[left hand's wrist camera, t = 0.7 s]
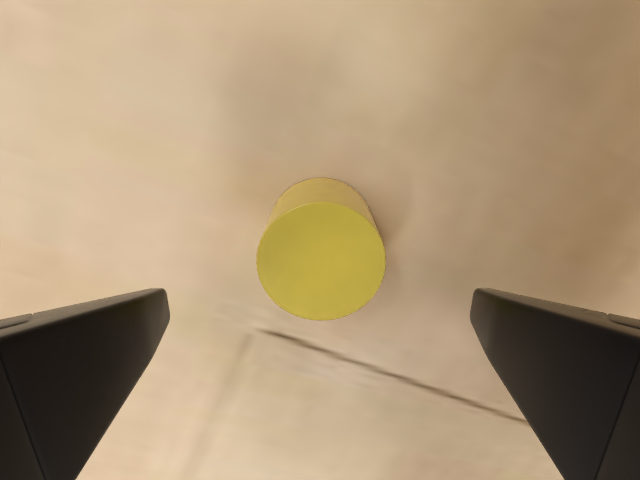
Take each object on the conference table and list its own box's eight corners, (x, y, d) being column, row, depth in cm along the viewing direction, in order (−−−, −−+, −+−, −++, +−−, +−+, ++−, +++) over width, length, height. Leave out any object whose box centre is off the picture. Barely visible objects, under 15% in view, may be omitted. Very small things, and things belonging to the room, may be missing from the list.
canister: (251, 243, 18) (233, 284, 14) (302, 156, 17) (297, 176, 13) (336, 290, 19) (341, 340, 15) (392, 212, 17) (412, 244, 14)
